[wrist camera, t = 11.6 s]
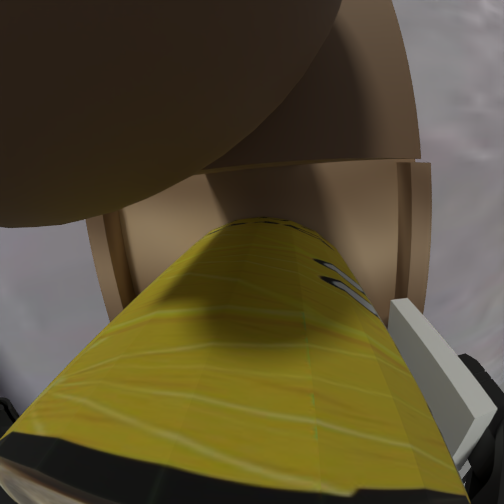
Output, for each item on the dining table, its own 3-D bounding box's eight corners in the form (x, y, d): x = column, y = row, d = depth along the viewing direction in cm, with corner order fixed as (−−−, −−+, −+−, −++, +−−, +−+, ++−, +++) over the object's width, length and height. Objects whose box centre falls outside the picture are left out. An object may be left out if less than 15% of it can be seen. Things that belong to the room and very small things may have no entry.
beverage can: (234, 402, 16) (189, 594, 4) (138, 275, 14) (-45, 444, 3) (381, 339, 14) (468, 554, 2) (301, 178, 12) (521, 298, 1)
